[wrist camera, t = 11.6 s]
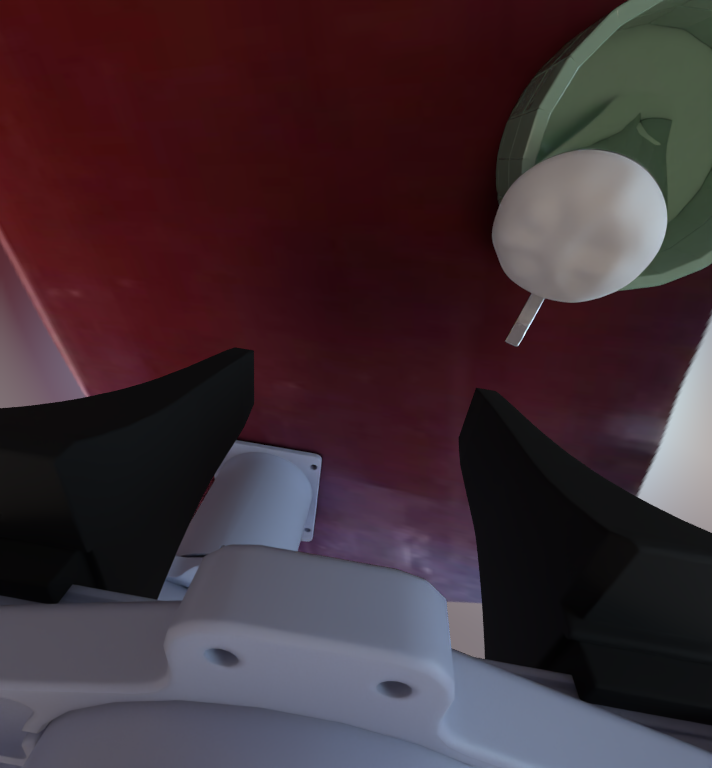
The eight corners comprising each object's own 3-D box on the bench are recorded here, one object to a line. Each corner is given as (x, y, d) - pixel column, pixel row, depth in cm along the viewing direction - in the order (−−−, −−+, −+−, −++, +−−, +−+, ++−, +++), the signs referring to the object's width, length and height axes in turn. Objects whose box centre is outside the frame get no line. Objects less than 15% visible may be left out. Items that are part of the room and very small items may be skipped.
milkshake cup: (540, 197, 19) (449, 317, 14) (599, 56, 14) (495, 159, 9) (639, 228, 17) (577, 375, 12) (739, 82, 13) (702, 220, 8)
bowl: (654, 277, 19) (717, 307, 15) (470, 248, 19) (487, 270, 16) (787, 32, 14) (928, -15, 11) (540, -4, 15) (590, -63, 11)
